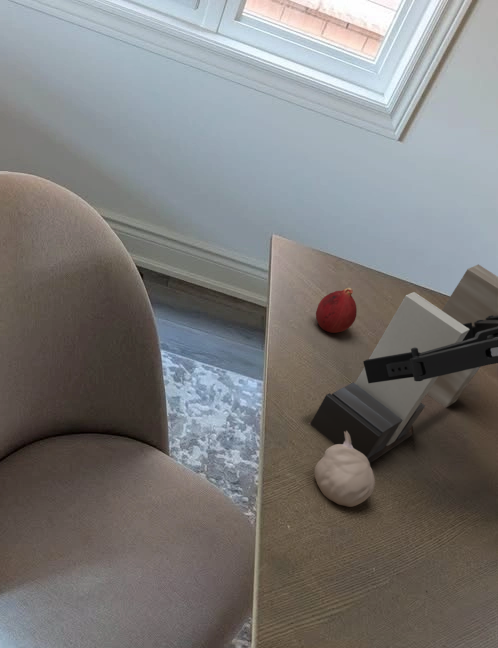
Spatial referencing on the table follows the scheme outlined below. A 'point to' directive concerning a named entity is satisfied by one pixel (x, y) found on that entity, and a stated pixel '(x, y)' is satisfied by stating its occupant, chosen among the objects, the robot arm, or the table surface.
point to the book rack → (380, 423)
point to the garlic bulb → (345, 474)
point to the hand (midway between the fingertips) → (395, 356)
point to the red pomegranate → (336, 311)
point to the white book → (400, 337)
